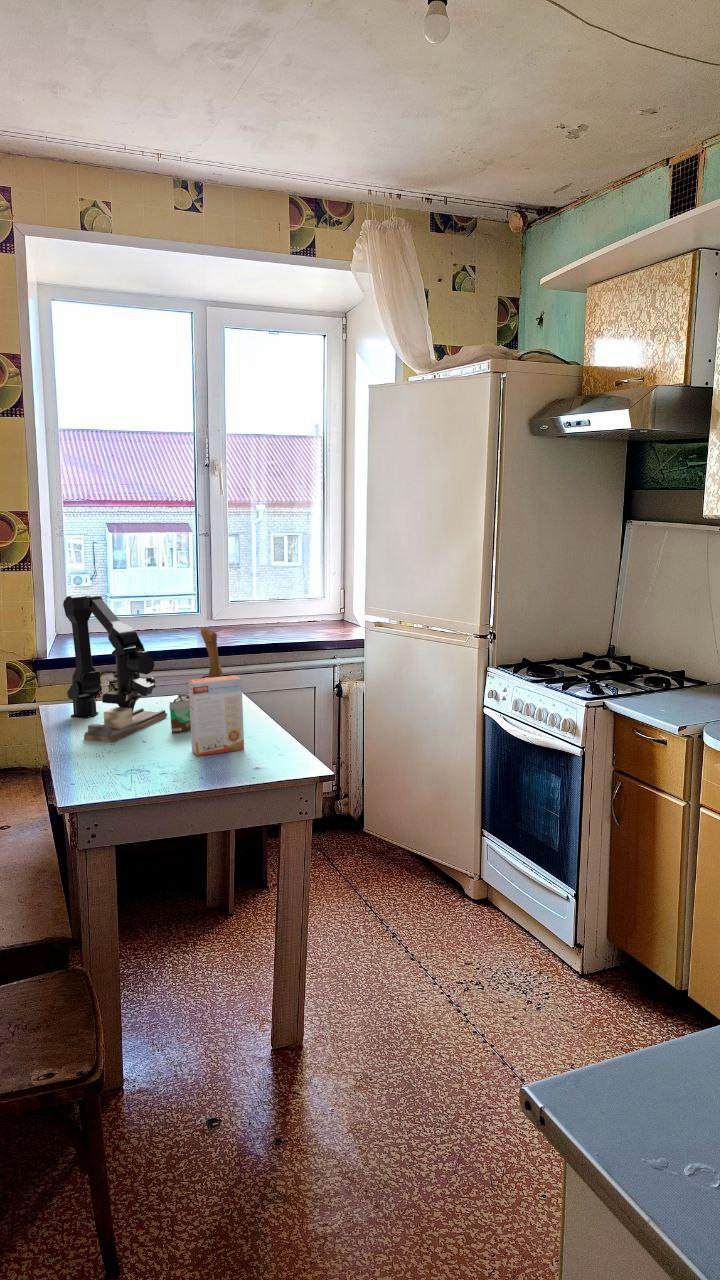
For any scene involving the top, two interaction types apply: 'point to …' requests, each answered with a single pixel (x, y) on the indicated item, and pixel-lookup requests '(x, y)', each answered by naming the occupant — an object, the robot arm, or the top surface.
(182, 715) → the food container
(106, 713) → the slider block
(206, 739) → the cracker box
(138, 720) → the slider track
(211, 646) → the tan tall curved piece
